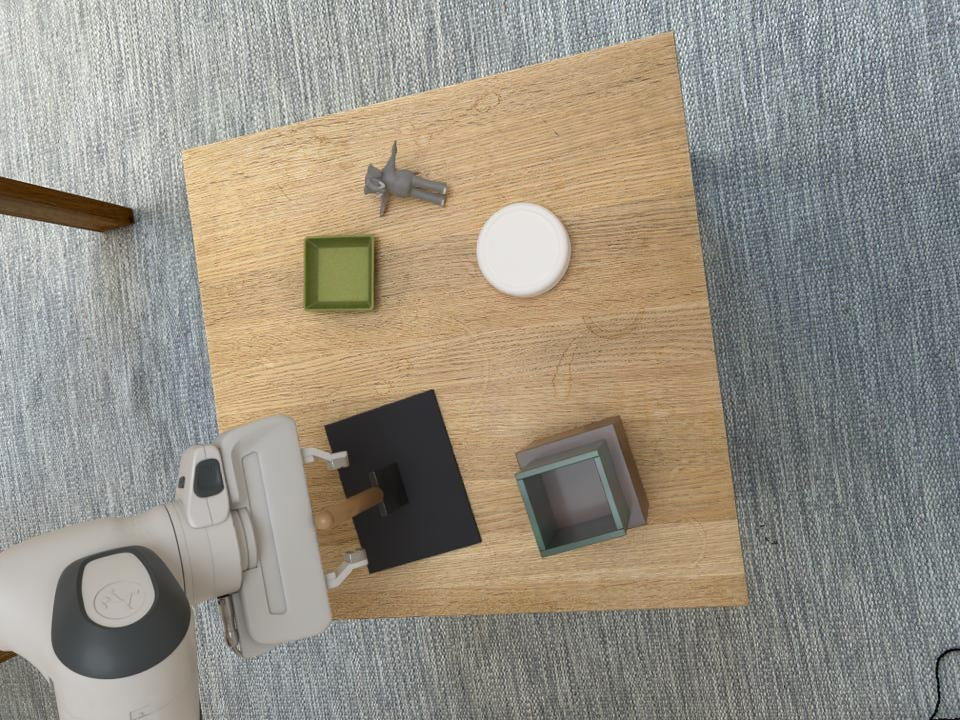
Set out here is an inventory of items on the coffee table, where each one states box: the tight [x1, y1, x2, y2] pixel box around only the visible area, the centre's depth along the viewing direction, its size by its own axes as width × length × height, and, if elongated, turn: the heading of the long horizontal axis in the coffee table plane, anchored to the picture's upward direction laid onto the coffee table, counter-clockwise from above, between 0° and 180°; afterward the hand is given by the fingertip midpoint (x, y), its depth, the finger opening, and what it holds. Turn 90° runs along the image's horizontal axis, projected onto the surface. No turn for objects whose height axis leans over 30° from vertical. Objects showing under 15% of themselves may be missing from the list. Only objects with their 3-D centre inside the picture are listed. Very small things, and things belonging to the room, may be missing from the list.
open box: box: [514, 414, 650, 559], centre depth 75 cm, size 10×10×18 cm
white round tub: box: [475, 201, 572, 299], centre depth 83 cm, size 10×10×4 cm
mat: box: [323, 388, 483, 575], centre depth 88 cm, size 18×14×1 cm
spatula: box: [314, 463, 409, 531], centre depth 78 cm, size 5×2×21 cm, turn 18°
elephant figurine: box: [363, 140, 448, 218], centre depth 85 cm, size 10×6×9 cm
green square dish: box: [302, 233, 375, 312], centre depth 89 cm, size 9×9×2 cm
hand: (355, 506), depth 74 cm, fingers open, 8 cm apart
